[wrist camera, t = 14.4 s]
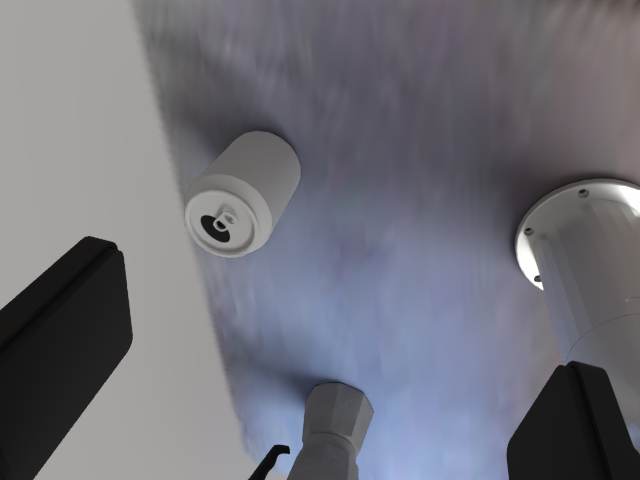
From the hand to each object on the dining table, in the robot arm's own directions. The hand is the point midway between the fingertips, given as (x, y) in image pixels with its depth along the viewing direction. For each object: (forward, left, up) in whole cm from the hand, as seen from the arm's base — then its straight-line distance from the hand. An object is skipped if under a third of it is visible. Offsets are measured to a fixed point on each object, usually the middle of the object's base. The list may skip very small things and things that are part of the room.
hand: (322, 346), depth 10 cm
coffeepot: (-1, +47, -34) cm, 58 cm away
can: (+11, +14, -34) cm, 39 cm away
